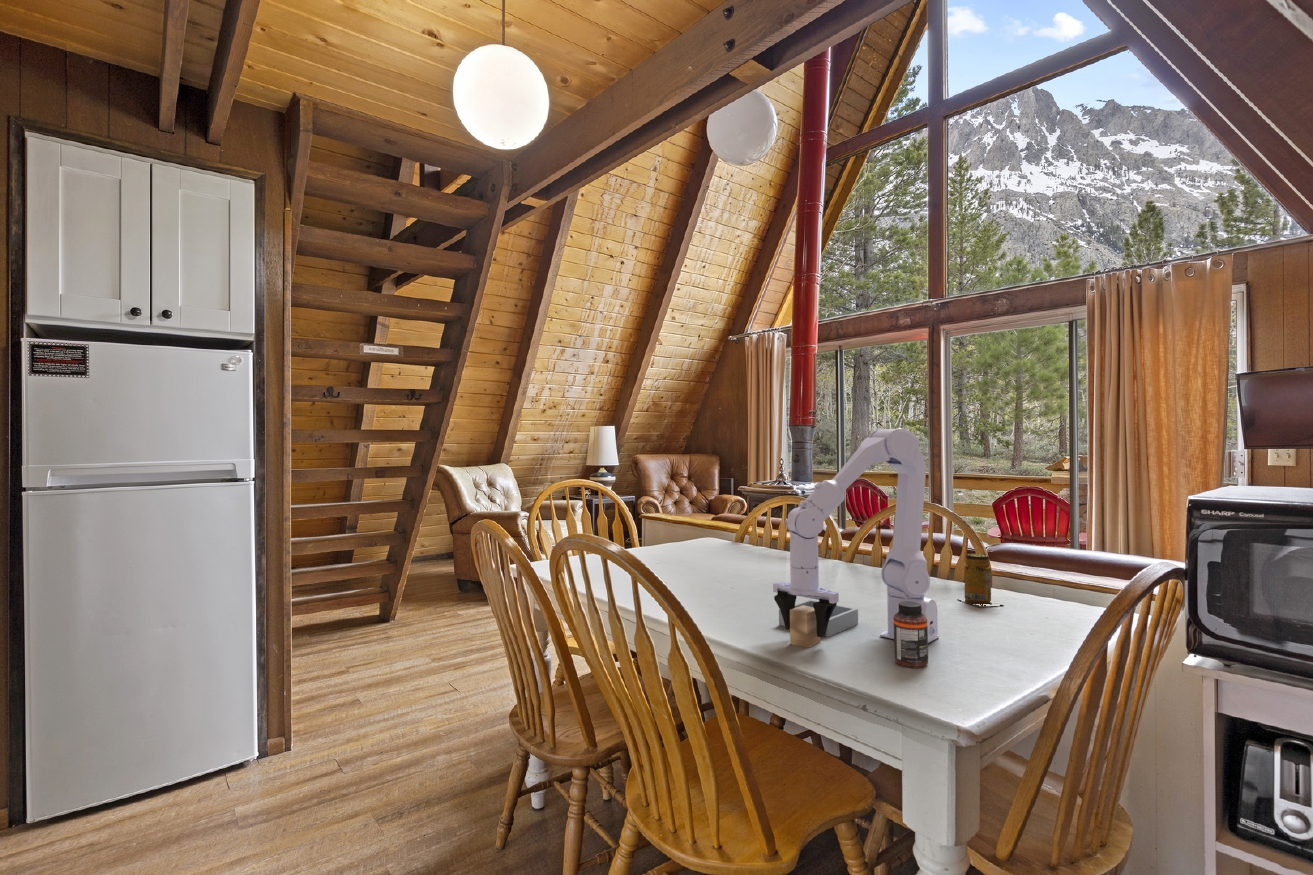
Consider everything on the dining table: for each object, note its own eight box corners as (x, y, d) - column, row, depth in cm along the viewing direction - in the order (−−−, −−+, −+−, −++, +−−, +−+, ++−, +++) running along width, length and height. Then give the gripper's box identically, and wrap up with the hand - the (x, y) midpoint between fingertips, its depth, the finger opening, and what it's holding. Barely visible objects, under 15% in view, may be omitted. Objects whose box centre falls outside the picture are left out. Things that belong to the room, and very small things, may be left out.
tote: (858, 624, 148) (857, 608, 148) (828, 636, 140) (828, 620, 140) (809, 614, 157) (809, 599, 157) (778, 625, 149) (778, 609, 149)
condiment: (980, 598, 171) (979, 551, 170) (1004, 606, 162) (1004, 557, 162) (955, 600, 169) (955, 553, 169) (979, 608, 161) (978, 559, 161)
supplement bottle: (900, 655, 127) (899, 597, 127) (932, 662, 123) (931, 602, 123) (889, 664, 123) (888, 603, 122) (922, 671, 119) (921, 608, 119)
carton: (820, 642, 136) (820, 608, 136) (807, 648, 133) (806, 613, 133) (803, 638, 139) (803, 605, 139) (790, 643, 136) (789, 609, 136)
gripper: (764, 564, 138) (764, 629, 138) (824, 574, 128) (825, 644, 128) (783, 559, 143) (784, 622, 143) (843, 568, 133) (844, 636, 133)
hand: (805, 632), depth 136 cm, fingers open, 7 cm apart
